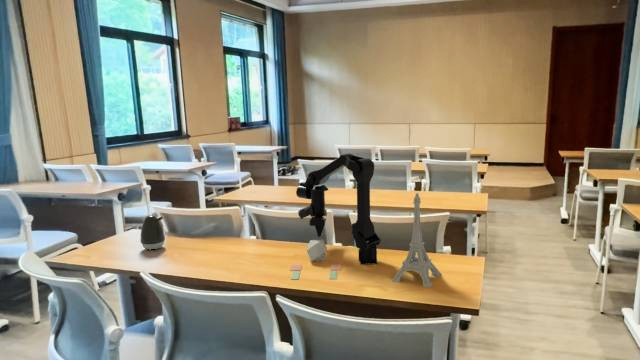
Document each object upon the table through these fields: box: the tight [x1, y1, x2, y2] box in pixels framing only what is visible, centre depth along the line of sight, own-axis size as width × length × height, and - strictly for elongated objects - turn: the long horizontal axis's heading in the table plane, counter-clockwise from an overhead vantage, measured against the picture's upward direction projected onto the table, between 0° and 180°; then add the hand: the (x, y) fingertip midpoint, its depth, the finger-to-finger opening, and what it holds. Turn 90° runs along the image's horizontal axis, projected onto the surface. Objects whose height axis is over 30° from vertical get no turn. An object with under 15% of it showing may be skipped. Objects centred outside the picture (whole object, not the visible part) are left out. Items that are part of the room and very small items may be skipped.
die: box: [306, 239, 328, 262], centre depth 173 cm, size 8×9×10 cm
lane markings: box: [289, 263, 342, 281], centre depth 161 cm, size 19×14×1 cm
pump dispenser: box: [139, 214, 166, 251], centre depth 194 cm, size 10×10×15 cm
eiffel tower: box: [391, 192, 442, 289], centre depth 150 cm, size 13×13×30 cm
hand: (319, 236), depth 187 cm, fingers closed
